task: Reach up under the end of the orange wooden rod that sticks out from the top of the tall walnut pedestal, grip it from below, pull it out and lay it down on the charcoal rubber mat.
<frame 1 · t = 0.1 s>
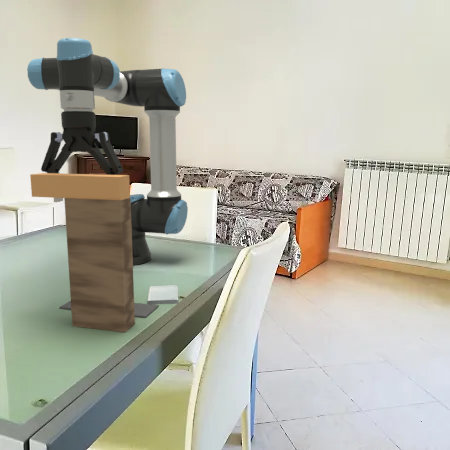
hand: (83, 202, 111), 28 cm above the table, tool pointing down, fingers open, 13 cm apart
charcoal mat: (109, 307, 120), on the table
orange rod: (80, 197, 105), point 30 cm above the table, touching walnut pedestal
walnut pedestal: (103, 324, 109), on the table
hard drive: (163, 298, 129), on the table
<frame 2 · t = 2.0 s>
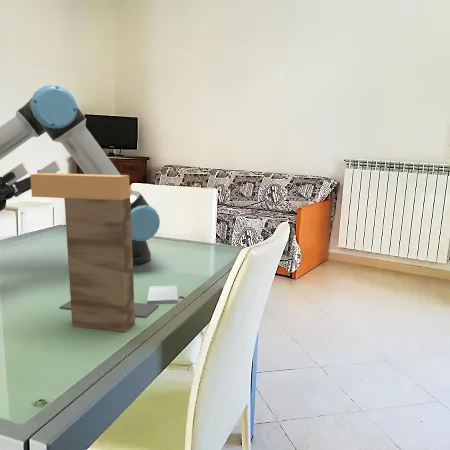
hand: (42, 166, 120), 36 cm above the table, tool pointing upward, fingers open, 13 cm apart
nothing on the table moved.
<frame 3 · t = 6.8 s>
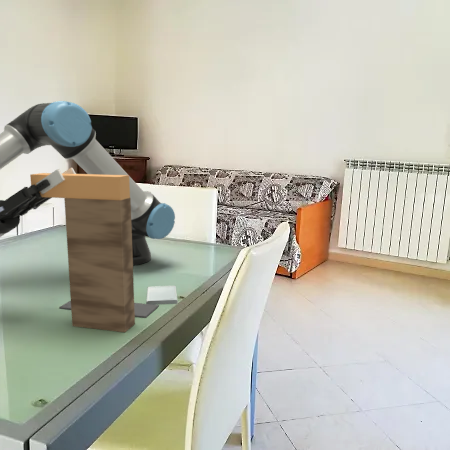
hand: (67, 173, 104), 35 cm above the table, tool pointing upward, fingers closed on orange rod, 4 cm apart
orange rod: (80, 197, 105), point 30 cm above the table, touching gripper, walnut pedestal
everything else where it was.
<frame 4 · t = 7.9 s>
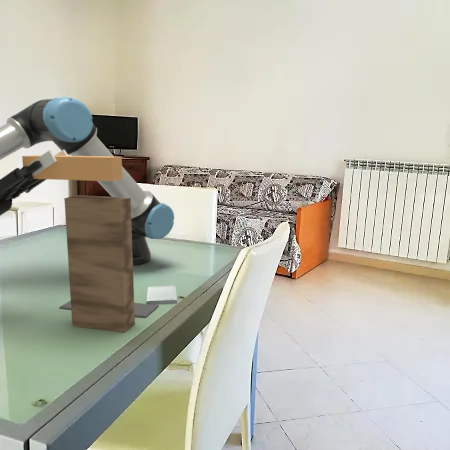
hand: (59, 155, 104), 39 cm above the table, tool pointing upward, fingers closed on orange rod, 4 cm apart
orange rod: (72, 178, 104), point 34 cm above the table, touching gripper
everything else where it was.
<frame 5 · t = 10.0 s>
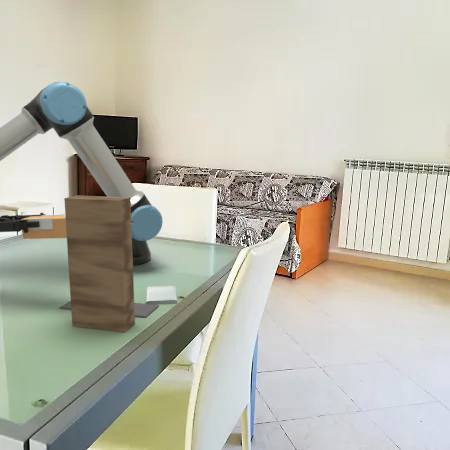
hand: (58, 221, 118), 22 cm above the table, tool horizontal, fingers closed on orange rod, 4 cm apart
orange rod: (66, 236, 118), point 18 cm above the table, touching gripper
everything else where it was.
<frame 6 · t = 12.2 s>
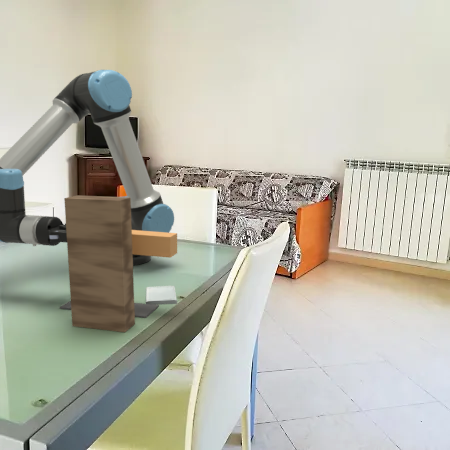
hand: (124, 235, 115), 19 cm above the table, tool horizontal, fingers closed on orange rod, 4 cm apart
orange rod: (132, 251, 116), point 15 cm above the table, touching gripper
everything else where it was.
when the fingers open (6 cm above the table, at t = 14.6 s): orange rod drops 2 cm, resting on charcoal mat.
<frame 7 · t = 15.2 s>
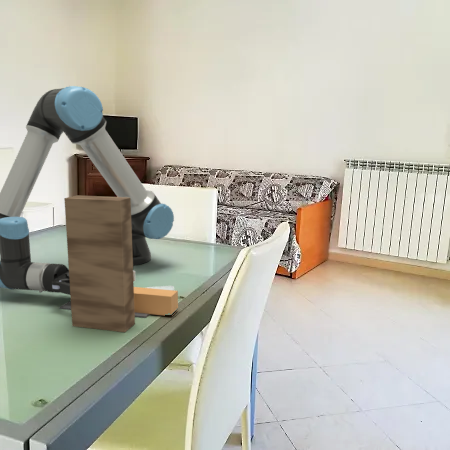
hand: (125, 283, 119), 7 cm above the table, tool horizontal, fingers open, 11 cm apart
orange rod: (134, 308, 118), resting on charcoal mat
everything else where it was.
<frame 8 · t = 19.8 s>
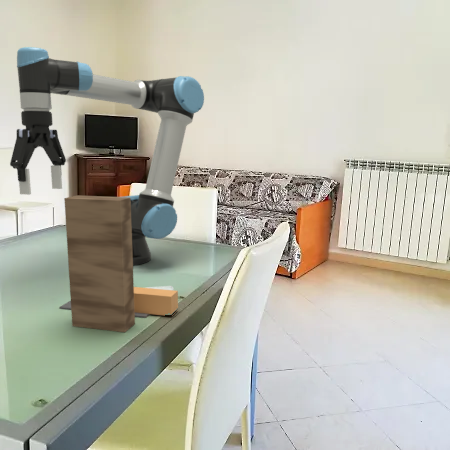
hand: (42, 191, 126), 29 cm above the table, tool pointing down, fingers open, 13 cm apart
at the end: orange rod inside the target area (7.0 cm from its centre), on the table; the gripper is holding nothing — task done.
